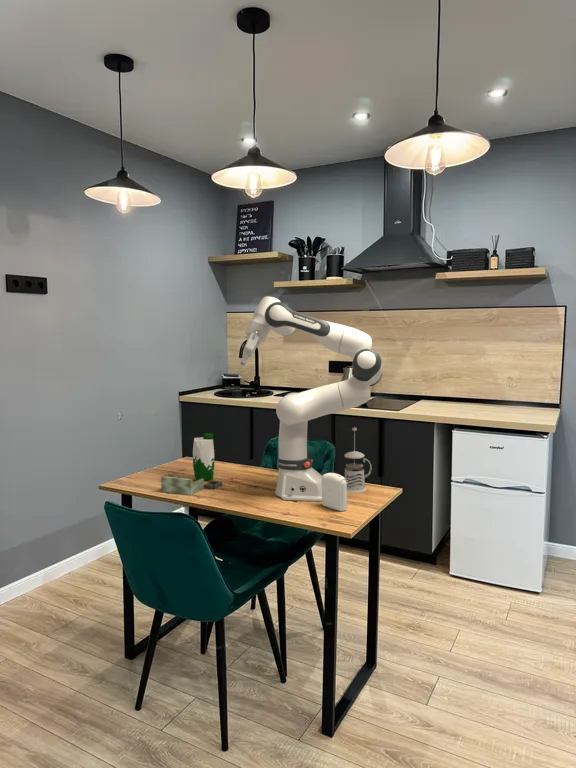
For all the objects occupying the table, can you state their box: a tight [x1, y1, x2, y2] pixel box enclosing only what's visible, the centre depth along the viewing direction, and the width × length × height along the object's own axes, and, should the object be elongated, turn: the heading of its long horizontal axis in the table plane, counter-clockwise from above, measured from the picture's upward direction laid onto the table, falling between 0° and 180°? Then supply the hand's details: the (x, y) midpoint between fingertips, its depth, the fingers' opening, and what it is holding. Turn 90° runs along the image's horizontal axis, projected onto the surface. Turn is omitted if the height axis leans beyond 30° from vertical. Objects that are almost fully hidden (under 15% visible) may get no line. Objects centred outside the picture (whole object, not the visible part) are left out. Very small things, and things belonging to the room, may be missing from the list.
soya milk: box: [192, 432, 215, 483], centre depth 227 cm, size 9×9×20 cm
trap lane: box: [160, 475, 223, 496], centre depth 215 cm, size 23×17×6 cm
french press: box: [343, 426, 373, 494], centre depth 210 cm, size 10×12×25 cm
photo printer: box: [321, 472, 348, 512], centre depth 187 cm, size 10×4×12 cm, turn 39°
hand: (242, 363), depth 214 cm, fingers open, 8 cm apart
